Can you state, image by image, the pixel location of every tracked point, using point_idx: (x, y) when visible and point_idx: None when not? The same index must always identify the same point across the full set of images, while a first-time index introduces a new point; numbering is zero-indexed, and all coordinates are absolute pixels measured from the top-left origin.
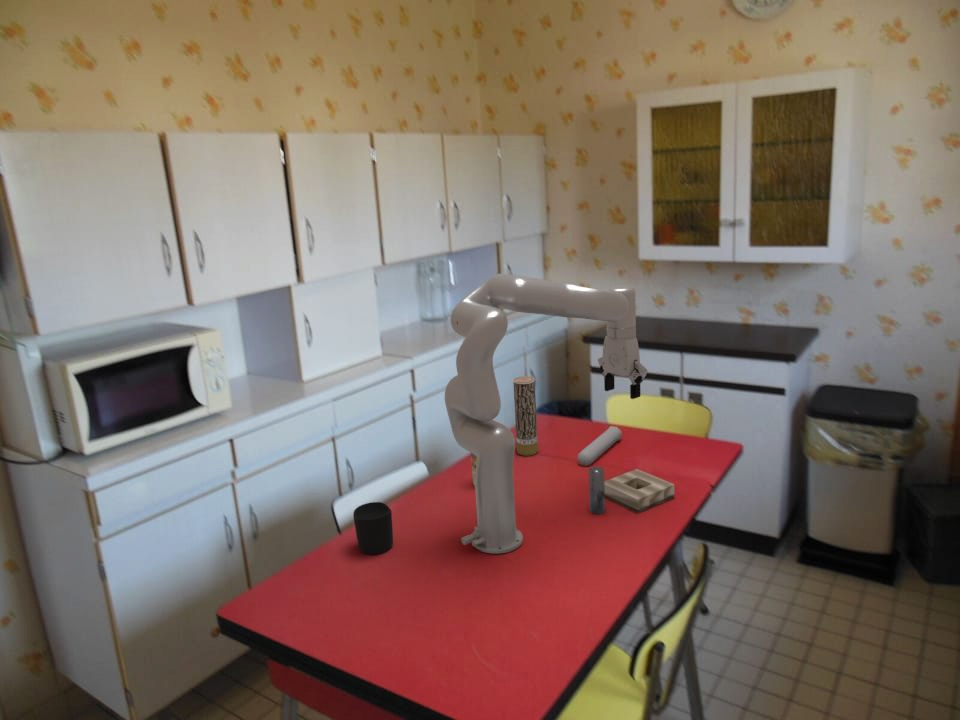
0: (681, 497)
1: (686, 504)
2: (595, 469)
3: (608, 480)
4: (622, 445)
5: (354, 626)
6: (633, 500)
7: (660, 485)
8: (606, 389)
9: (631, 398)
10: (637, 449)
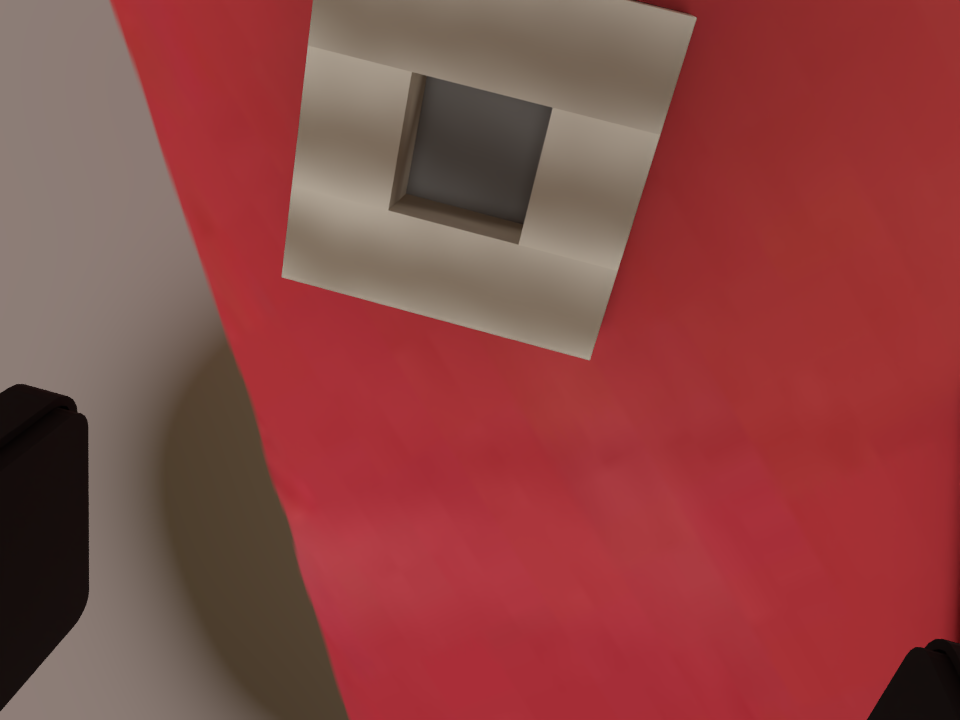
0: None
1: (222, 214)
2: None
3: (665, 88)
4: None
5: None
6: None
7: (334, 217)
8: (942, 669)
9: (45, 392)
10: (801, 687)
